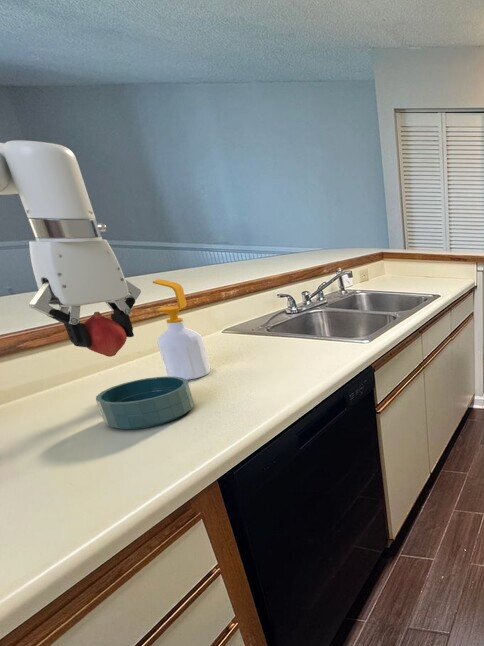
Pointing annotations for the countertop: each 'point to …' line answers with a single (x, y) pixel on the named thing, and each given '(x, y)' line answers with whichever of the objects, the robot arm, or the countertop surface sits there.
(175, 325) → the soap bottle
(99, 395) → the bowl
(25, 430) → the countertop surface
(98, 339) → the onion
